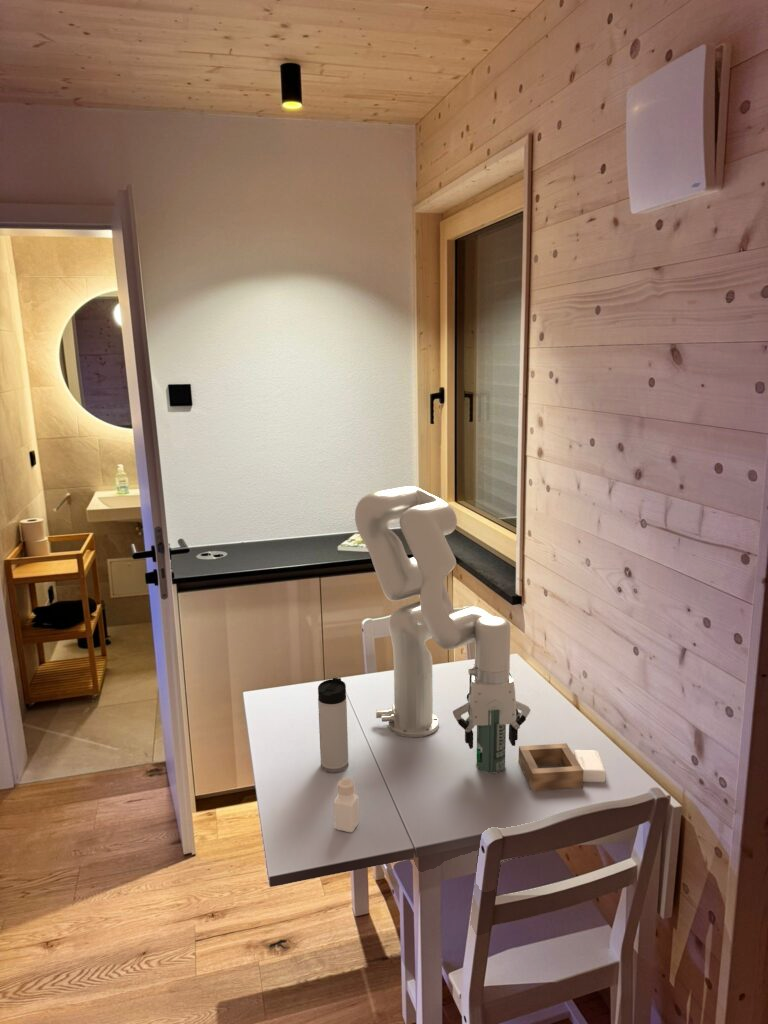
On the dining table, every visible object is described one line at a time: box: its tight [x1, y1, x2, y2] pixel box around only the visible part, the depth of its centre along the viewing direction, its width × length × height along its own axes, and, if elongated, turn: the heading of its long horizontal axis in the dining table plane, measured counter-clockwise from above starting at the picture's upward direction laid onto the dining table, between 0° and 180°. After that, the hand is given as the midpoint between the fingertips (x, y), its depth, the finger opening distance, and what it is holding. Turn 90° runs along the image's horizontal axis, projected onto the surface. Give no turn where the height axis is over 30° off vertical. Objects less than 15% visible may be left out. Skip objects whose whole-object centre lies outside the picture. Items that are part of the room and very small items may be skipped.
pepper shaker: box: [333, 778, 360, 833], centre depth 143 cm, size 4×4×10 cm
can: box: [476, 710, 507, 774], centre depth 162 cm, size 6×6×15 cm
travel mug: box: [317, 677, 349, 774], centre depth 163 cm, size 6×7×20 cm
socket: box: [518, 742, 584, 792], centre depth 160 cm, size 11×11×4 cm
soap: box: [573, 749, 606, 783], centre depth 161 cm, size 9×6×3 cm, turn 174°
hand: (491, 744), depth 163 cm, fingers open, 9 cm apart
